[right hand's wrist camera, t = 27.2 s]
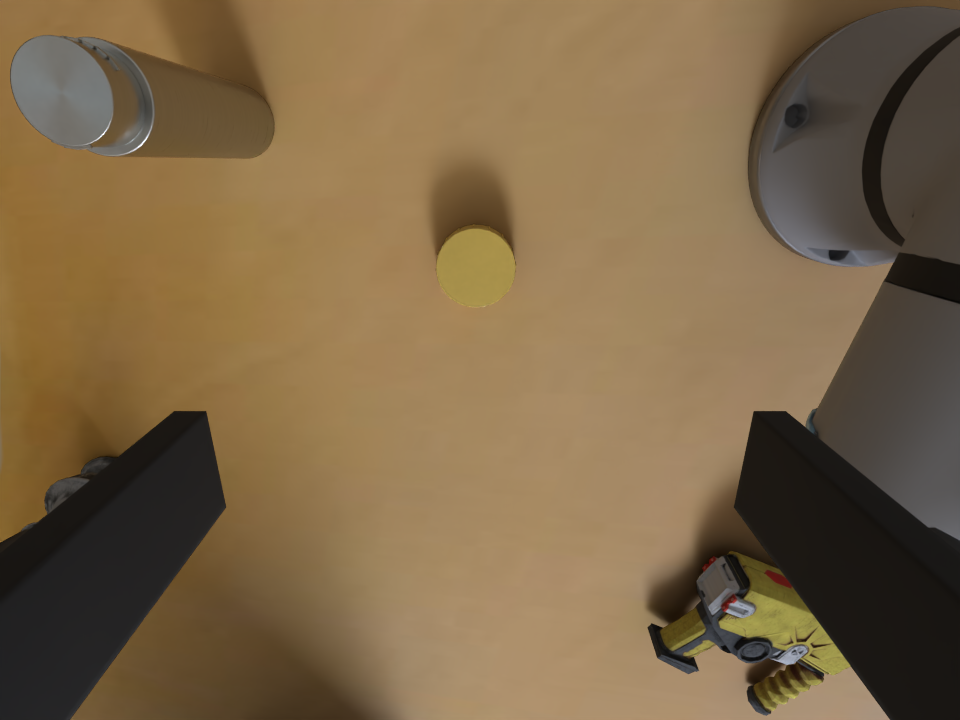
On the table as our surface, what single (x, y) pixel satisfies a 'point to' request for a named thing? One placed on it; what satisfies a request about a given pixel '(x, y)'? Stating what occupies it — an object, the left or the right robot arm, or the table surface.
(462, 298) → the lid
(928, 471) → the right robot arm
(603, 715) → the table surface
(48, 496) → the dark grey chess piece
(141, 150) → the jar
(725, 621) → the toy gun
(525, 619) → the table surface
